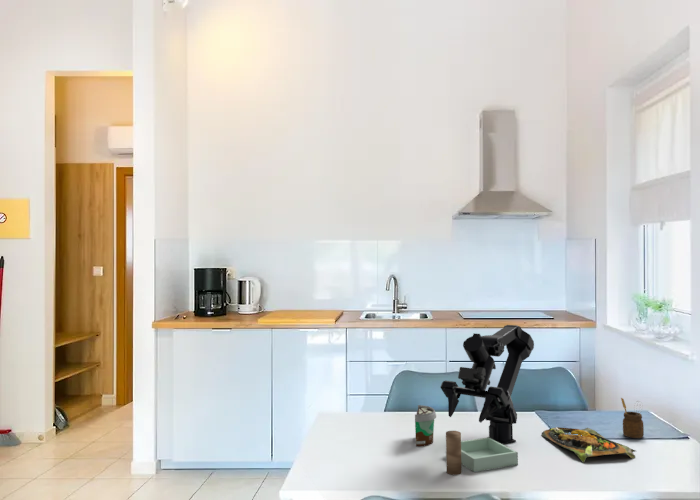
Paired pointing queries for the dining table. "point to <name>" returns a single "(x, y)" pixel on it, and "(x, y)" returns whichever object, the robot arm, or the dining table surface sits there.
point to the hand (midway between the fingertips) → (464, 418)
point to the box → (486, 454)
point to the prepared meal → (585, 442)
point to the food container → (424, 425)
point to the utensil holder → (632, 423)
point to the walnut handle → (453, 453)
